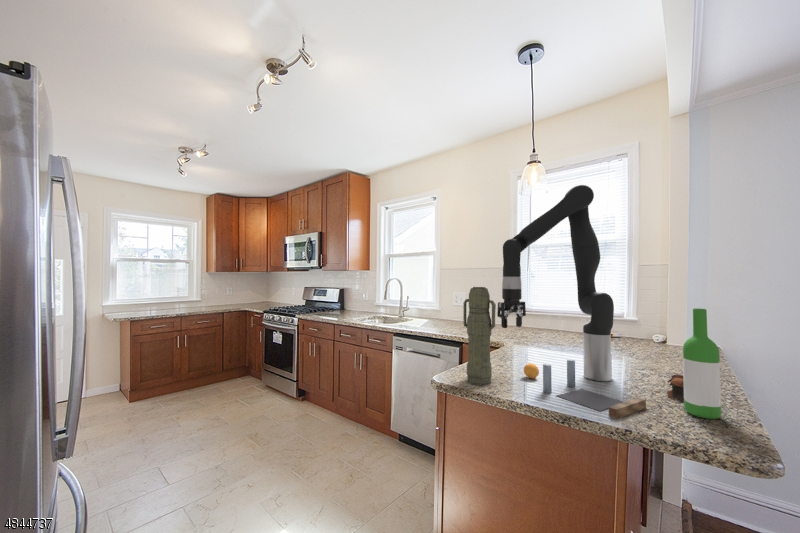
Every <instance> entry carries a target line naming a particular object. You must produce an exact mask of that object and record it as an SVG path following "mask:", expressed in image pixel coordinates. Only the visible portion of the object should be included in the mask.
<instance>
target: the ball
mask: <svg viewBox="0 0 800 533" xmlns="http://www.w3.org/2000/svg"><path fill="white" fill-rule="evenodd" d="M523 373H524V375H525V376H526V377H527V378H530V379H536V378H537V377H538V376H539V374H540V371H539V367H538V366H537V365H536V364H534V363H527V364H526V365H524V367H523Z"/></svg>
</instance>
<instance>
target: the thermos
mask: <svg viewBox="0 0 800 533" xmlns="http://www.w3.org/2000/svg"><path fill="white" fill-rule="evenodd" d="M490 298H491V297H490V292H489V290H488V288H486V287H484V286H473V287H471V288H470V289H469V293H468V298H466V299H465V300H463V326H464V327H465V328H466V334H467V337H468V339H467V340H468V342H467V343H468V346H467V348H468V352H467V354H468V355H467V357H468V359H467V360H468V361H467V363H466V375H467V380H466V381H467V383H469V384H471V385H475V386H482V387H483V386H490V385H491V383H492V374H493V373H492V372H493V369H492V367H493V366H492V363H491V336H492V330H493V329H494V328H495V327H496V310H497V308H496V303H495V301H494V300H492V299H490ZM467 303H468V309H469V310H468V316H467ZM490 304H491V305H490ZM490 308H491V312H490ZM490 313H491V314H490ZM490 315H491V316H490Z"/></svg>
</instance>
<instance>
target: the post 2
mask: <svg viewBox="0 0 800 533" xmlns="http://www.w3.org/2000/svg"><path fill="white" fill-rule="evenodd" d="M566 386H567V387H570V388H575V387H576V360H574V359H566Z"/></svg>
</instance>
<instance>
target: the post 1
mask: <svg viewBox="0 0 800 533" xmlns="http://www.w3.org/2000/svg"><path fill="white" fill-rule="evenodd" d="M542 392H544V393H545V394H552V364H549V363H543V364H542Z"/></svg>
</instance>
